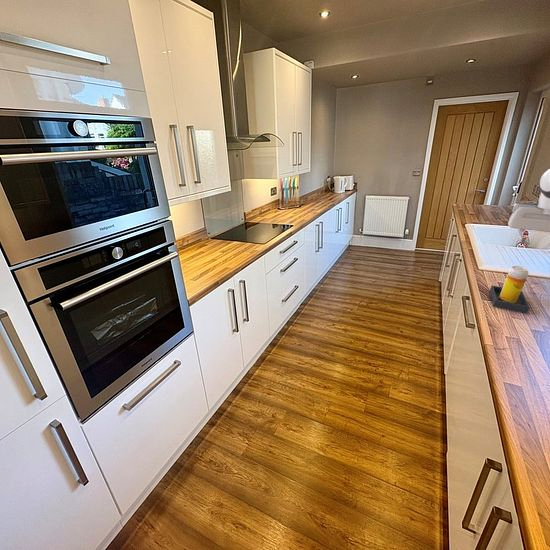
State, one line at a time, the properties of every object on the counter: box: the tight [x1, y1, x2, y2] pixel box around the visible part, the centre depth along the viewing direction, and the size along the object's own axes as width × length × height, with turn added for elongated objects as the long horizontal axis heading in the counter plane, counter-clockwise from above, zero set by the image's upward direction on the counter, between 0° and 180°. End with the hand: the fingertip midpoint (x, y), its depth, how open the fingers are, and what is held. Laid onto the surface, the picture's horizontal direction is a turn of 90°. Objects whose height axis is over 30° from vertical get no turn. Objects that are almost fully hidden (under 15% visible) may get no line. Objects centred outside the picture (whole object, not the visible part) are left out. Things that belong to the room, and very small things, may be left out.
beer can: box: [499, 265, 529, 303], centre depth 121 cm, size 6×6×15 cm
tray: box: [489, 285, 530, 314], centre depth 124 cm, size 11×15×3 cm
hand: (538, 243), depth 98 cm, fingers open, 8 cm apart
